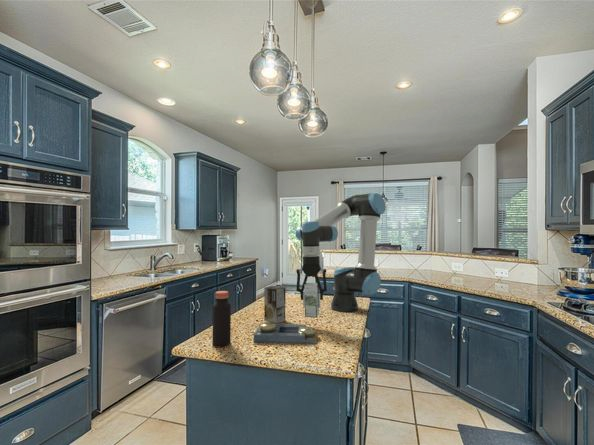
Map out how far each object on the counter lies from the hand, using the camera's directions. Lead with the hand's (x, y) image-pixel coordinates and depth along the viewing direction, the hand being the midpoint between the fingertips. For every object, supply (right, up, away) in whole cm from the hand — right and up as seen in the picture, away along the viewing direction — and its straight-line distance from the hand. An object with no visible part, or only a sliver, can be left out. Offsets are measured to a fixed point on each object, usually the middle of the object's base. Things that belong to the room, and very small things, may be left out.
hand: (311, 307), depth 141 cm
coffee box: (-18, -10, +13) cm, 24 cm away
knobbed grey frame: (-13, -9, -12) cm, 20 cm away
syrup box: (0, -4, 0) cm, 4 cm away
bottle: (-36, -9, -20) cm, 42 cm away
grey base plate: (-8, -9, -12) cm, 17 cm away
